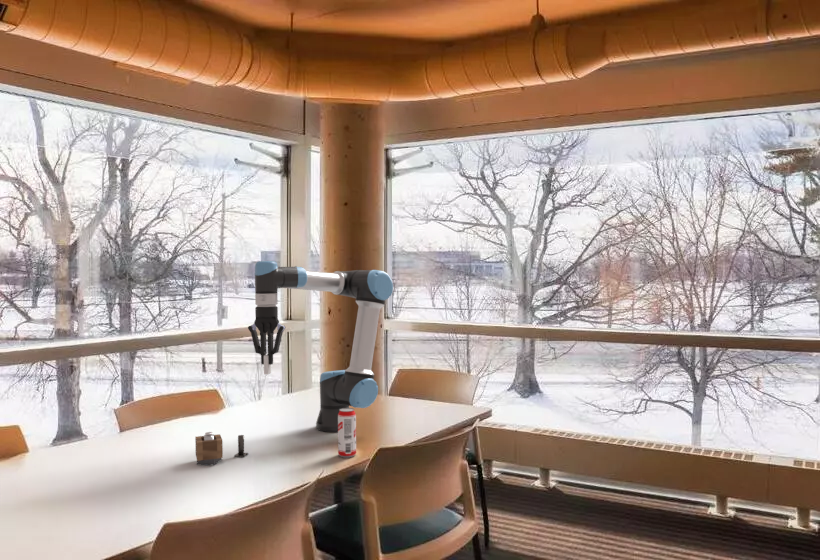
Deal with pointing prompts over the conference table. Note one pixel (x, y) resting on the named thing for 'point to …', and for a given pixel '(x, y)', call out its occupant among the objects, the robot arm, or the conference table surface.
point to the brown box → (209, 448)
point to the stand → (241, 447)
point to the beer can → (347, 432)
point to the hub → (211, 461)
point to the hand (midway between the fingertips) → (267, 373)
